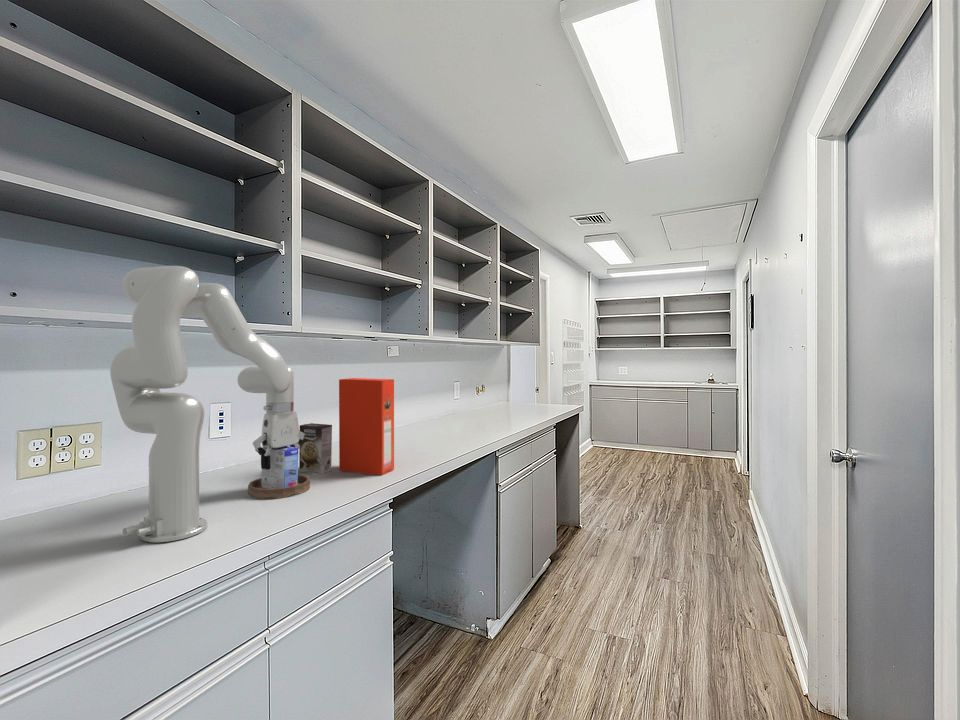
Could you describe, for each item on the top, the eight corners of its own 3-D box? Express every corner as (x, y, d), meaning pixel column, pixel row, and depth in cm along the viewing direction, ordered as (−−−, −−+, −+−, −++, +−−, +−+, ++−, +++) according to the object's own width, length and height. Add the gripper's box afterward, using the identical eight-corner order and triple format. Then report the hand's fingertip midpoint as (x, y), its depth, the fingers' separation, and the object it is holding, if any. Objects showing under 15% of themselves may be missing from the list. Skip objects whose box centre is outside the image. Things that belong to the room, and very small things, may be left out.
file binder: (381, 475, 152) (381, 380, 151) (338, 470, 158) (339, 379, 157) (394, 470, 159) (394, 379, 159) (352, 465, 165) (353, 378, 165)
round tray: (275, 502, 124) (275, 492, 124) (236, 493, 131) (236, 484, 131) (321, 486, 139) (321, 478, 139) (284, 479, 146) (284, 471, 146)
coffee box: (298, 472, 156) (298, 425, 155) (310, 467, 162) (310, 422, 162) (320, 474, 153) (321, 426, 153) (332, 469, 159) (332, 424, 159)
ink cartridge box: (299, 487, 135) (299, 439, 135) (284, 492, 130) (284, 442, 130) (276, 483, 140) (276, 436, 140) (260, 488, 135) (260, 439, 135)
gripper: (262, 412, 125) (262, 473, 126) (312, 405, 141) (311, 460, 141) (245, 410, 129) (245, 470, 129) (295, 404, 144) (295, 458, 144)
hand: (280, 465), depth 135 cm, fingers open, 9 cm apart
